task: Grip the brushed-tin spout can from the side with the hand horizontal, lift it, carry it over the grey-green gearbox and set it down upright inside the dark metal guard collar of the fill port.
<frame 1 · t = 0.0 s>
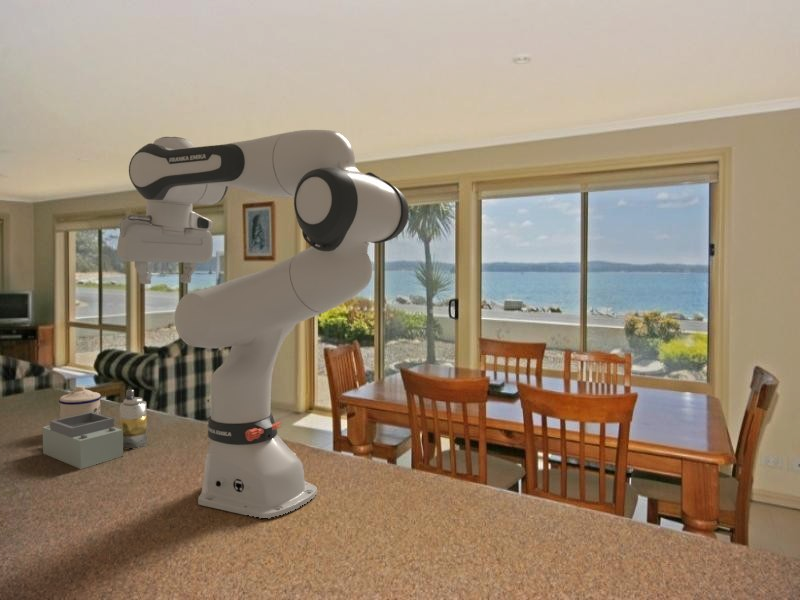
hand: (165, 283, 112), 39 cm above the kitchen counter, tool pointing down, fingers open, 8 cm apart
teacup with lid: (82, 430, 135), on the kitchen counter
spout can: (133, 445, 125), on the kitchen counter
gearbox: (83, 454, 118), on the kitchen counter
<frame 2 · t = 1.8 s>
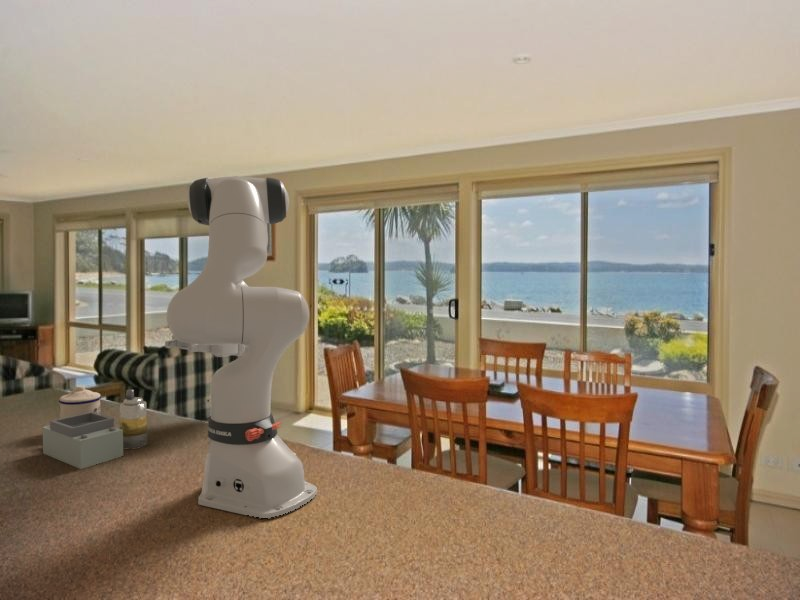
hand: (178, 346, 133), 22 cm above the kitchen counter, tool horizontal, fingers open, 8 cm apart
nothing on the kitchen counter moved.
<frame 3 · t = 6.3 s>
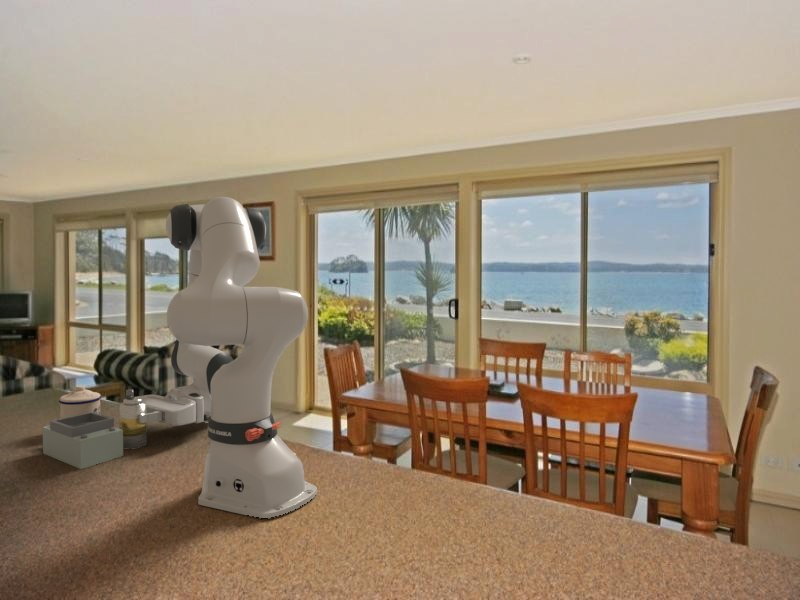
hand: (129, 416, 123), 7 cm above the kitchen counter, tool horizontal, fingers closed on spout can, 6 cm apart
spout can: (133, 445, 125), on the kitchen counter, touching gripper
everything else where it was.
when the fingers open (14 cm above the kitchen counter, at t = 10.4 s): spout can drops 1 cm, resting on gearbox.
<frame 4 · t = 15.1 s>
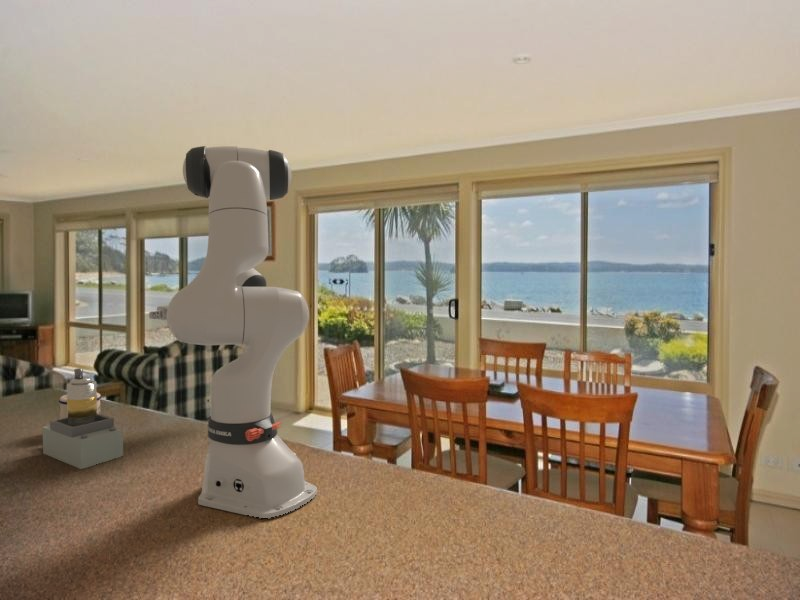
hand: (162, 316, 128), 30 cm above the kitchen counter, tool horizontal, fingers open, 8 cm apart
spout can: (82, 427, 117), point 6 cm above the kitchen counter, touching gearbox
everything else where it was.
at the end: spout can 0.0 cm off-centre on the gearbox, point 6.2 cm above the gearbox's base; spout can tilted 0°; the gripper is holding nothing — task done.
